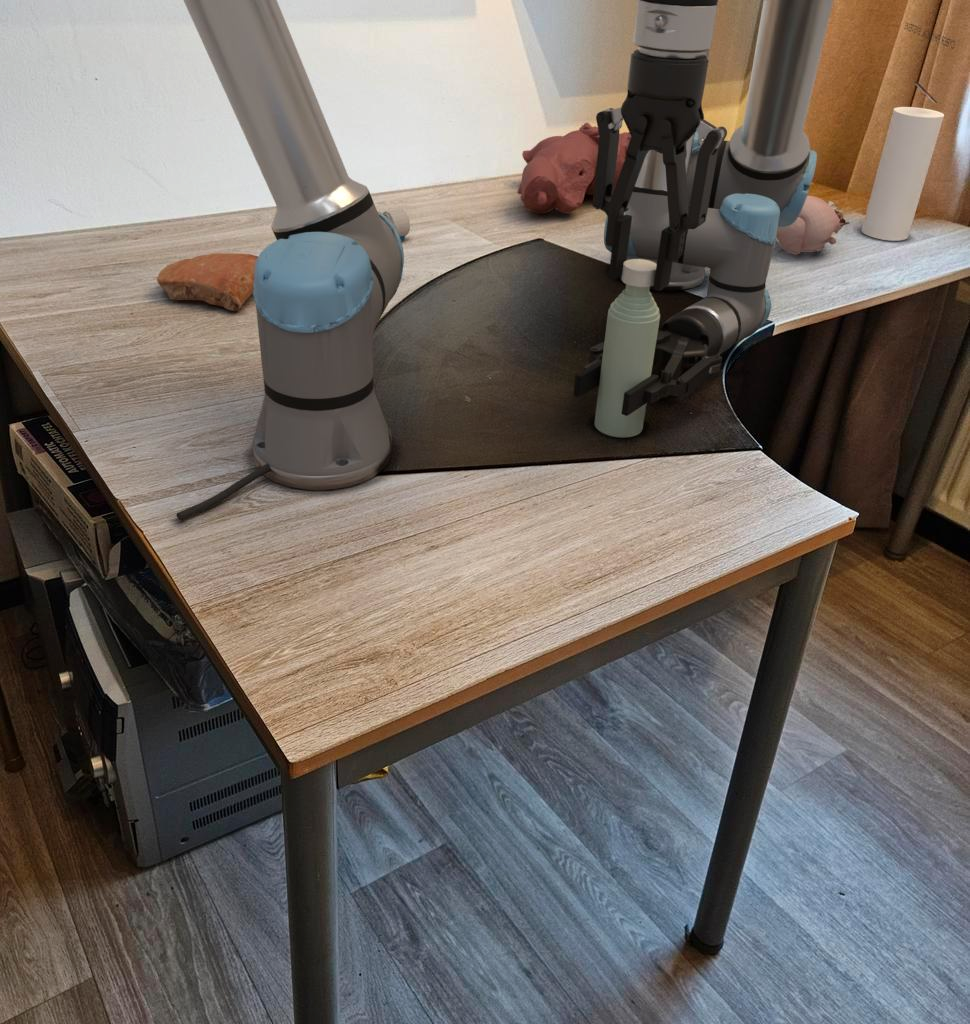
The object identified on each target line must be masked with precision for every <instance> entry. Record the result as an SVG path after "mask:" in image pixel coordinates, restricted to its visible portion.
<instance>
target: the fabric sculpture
mask: <svg viewBox="0 0 970 1024" xmlns="http://www.w3.org/2000/svg"><path fill="white" fill-rule="evenodd" d="M630 139H631V134H630V132H629V131H628V132H627V131H624V132H621V133H619V145H618V153H617V162H616V171H615V179H614V188H613V192H614V190H615V187H616V184H617V181H618V178H619V175H620V172H621V170H622V167H623V164H624V161H625V158H626V150H627V148H628V145H629V142H630ZM598 146H599V131H598V126H592V125H591V124H590V123H589V122H585V123H584V124H581V126H580V127H579V129H576V130H573V131H570V132H568V133H566V134H565V135H554V136H549V137H546V138H544V139H542V140H540V141H539V142H538V143H536V145H535V146H534V147H532V148H531V149H529V150H523V151H522V153H521V156H522V158H523V160H524V162H525V163H526V164H525V166H524V168H523V170H522V172H521V173H522V174H521V180H520V181H521V182H520V185H519V186H518V189H517V194H518V195H520V200H521V202H522V203H523V207H524V209H525V210H529V211H530V212H532V213H535V214H546V213H549V212H551V211H552V210H553V209H554V208H555V209H556V210H557V211H559V212H560V213H564V214H569V213H573V212H575V211H578V209H579V208H581V206H582V203H584V199H585V195H591V196H593V194H594V184H595V174H596V165H597V155H598Z"/></svg>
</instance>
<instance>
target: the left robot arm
mask: <svg viewBox="0 0 970 1024" xmlns="http://www.w3.org/2000/svg"><path fill="white" fill-rule="evenodd" d="M183 3H184V5H185V7H186V9H187V12H188V15H190V18H191V20H192V22H193V24H194V27H195V29H196V32H197V33H198V36H199V38H200V40H201V42H202V44H203V47H204V49H205V51H206V54H207V55H208V58H209V60H210V63H211V64H212V66H213V68H214V71H215V73H216V75H217V77H218V80H219V82H220V84H221V86H222V88H223V91H224V93H225V95H226V97H227V99H228V101H229V104H230V107H231V108H232V111H233V113H234V115H235V118H236V119H237V122H238V124H239V126H240V128H241V131H242V133H243V135H244V137H245V140H246V141H247V142H246V143H247V144H248V146H249V148H250V150H251V153H252V156H253V157H254V160H255V161H256V164H257V166H258V168H259V170H260V172H261V174H262V177H263V179H264V181H265V183H266V186H267V188H268V190H269V192H270V195H271V197H272V199H273V201H274V203H275V207H276V208H275V209H276V210H275V214H274V217H273V220H272V222H271V225H270V228H271V231H272V232H273V235H274V238H275V241H273V242H272V243H270V244H268V245H267V246H266V247H265V248H264V249H263V250H262V251H260V253H259V255H258V258H257V260H256V263H255V269H254V284H253V287H254V291H253V293H252V295H253V300H254V303H255V310H256V311H255V312H256V320H257V330H258V340H259V349H260V359H261V369H262V379H263V388H264V390H263V391H264V396H263V400H262V404H261V408H260V412H259V415H258V419H257V423H256V427H255V430H254V434H253V439H252V455H253V460H254V464H255V467H256V469H255V470H254V471H251V472H250V473H248V474H247V475H245V476H244V477H242V478H240V479H239V480H237V481H236V482H234V483H232V484H231V485H230V486H228V487H226V488H225V489H224V490H222V491H220V492H219V493H217V494H215V495H213V496H211V497H210V498H207V499H206V500H203V501H202V502H200V503H197V504H195V505H193V506H190V507H187V508H186V509H182V510H181V511H178V512H177V513H176V515H175V516H176V518H177V520H178V521H184V520H185V519H187V518H190V517H192V516H194V515H197V514H199V513H201V512H204V511H205V510H208V509H210V508H212V507H214V506H216V505H218V504H220V503H221V502H223V501H225V500H227V499H228V498H230V497H231V496H233V495H234V494H236V493H237V492H238V491H240V490H243V488H245V487H246V486H248V485H250V484H251V483H253V482H255V481H256V480H258V479H260V478H261V477H263V476H265V477H266V478H268V479H269V480H271V481H273V482H275V483H278V484H280V485H283V486H286V487H290V488H295V489H301V490H312V491H314V490H315V491H323V490H327V491H328V490H337V489H342V488H348V487H351V486H355V485H358V484H361V483H363V482H366V481H368V480H370V479H373V478H374V477H375V476H377V475H378V474H380V473H381V472H382V471H383V470H384V469H385V468H386V467H387V466H388V464H389V463H390V461H391V458H392V441H393V439H392V432H391V431H390V426H389V427H388V424H387V422H386V419H385V417H384V413H383V411H382V408H381V406H380V403H379V400H378V398H377V395H376V393H375V385H374V331H375V329H376V327H377V325H378V323H379V321H380V319H381V318H382V316H383V314H384V312H385V311H386V309H387V307H388V306H389V303H390V302H391V301H392V300H393V298H394V297H395V295H396V293H397V292H398V289H399V287H400V284H401V282H402V276H403V273H404V272H403V271H404V264H405V254H404V246H403V242H402V240H401V239H400V237H399V234H398V232H397V230H396V229H395V227H394V226H393V224H392V223H391V222H390V221H389V220H388V219H387V217H385V216H384V215H383V214H382V212H379V211H378V209H377V207H376V205H375V202H374V200H373V197H372V194H371V193H370V189H369V188H368V186H367V185H364V184H362V183H360V182H358V181H356V180H354V179H352V178H351V177H350V176H349V174H348V172H347V169H346V167H345V165H344V162H343V160H342V157H341V154H340V152H339V150H338V147H337V144H336V142H335V139H334V137H333V135H332V133H331V130H330V128H329V125H328V123H327V120H326V117H325V116H324V113H323V110H322V108H321V105H320V102H319V100H318V98H317V96H316V94H315V93H316V92H315V90H314V88H313V86H312V83H311V80H310V78H309V76H308V73H307V71H306V68H305V66H304V64H303V62H302V61H303V60H302V59H301V57H300V53H299V51H298V49H297V46H296V44H295V42H294V39H293V36H292V34H291V32H290V29H289V27H288V25H287V22H286V20H285V17H284V14H283V12H282V10H281V7H280V5H279V2H278V0H183ZM717 3H718V4H719V0H637V5H636V13H635V14H636V16H635V20H634V21H635V22H634V31H633V38H632V42H633V43H634V45H635V46H636V47H637V49H635V50H634V51H633V53H631V54H630V61H629V62H630V63H629V71H628V80H627V94H626V97H625V99H624V101H623V102H622V104H621V107H617V108H613V107H610V108H607V109H604V110H601V111H599V112H598V113H596V116H595V118H596V119H595V121H596V125H597V126H596V127H598V131H599V146H598V155H597V165H596V174H595V184H594V194H593V195H592V206H593V208H594V209H595V210H601V211H602V212H604V213H605V215H606V217H607V216H608V222H607V232H606V240H605V241H606V246H610V247H612V252H610V262H609V268H608V269H609V270H608V277H607V278H608V280H611V281H616V280H617V279H619V278H618V277H620V276H621V275H622V271H623V263H624V262H625V261H626V259H627V251H628V244H629V236H630V228H631V221H632V216H631V215H624V212H626V211H627V210H628V209H629V208H627V206H628V203H629V201H630V198H631V195H632V192H633V190H634V187H635V184H636V181H637V179H638V176H639V173H640V170H641V168H642V165H643V162H644V159H645V157H646V155H647V153H648V152H649V150H655V151H657V152H659V153H662V155H663V163H664V165H665V169H666V183H667V197H668V211H669V226H668V227H667V228H665V229H664V230H662V233H661V239H660V246H659V253H658V260H657V266H656V273H655V280H654V287H653V289H652V290H653V291H656V292H662V291H663V290H662V289H663V288H665V287H666V286H667V285H669V281H670V275H671V268H672V262H673V261H676V260H677V259H679V258H680V257H681V255H682V252H683V246H684V240H685V234H686V230H687V229H695V228H697V227H698V226H700V225H701V224H703V223H704V222H705V221H706V217H707V211H708V205H709V200H710V194H711V188H712V183H713V177H714V171H715V166H716V160H717V154H718V150H719V149H720V147H721V145H722V143H723V141H725V139H726V137H727V135H728V130H727V128H726V127H725V126H715V125H714V124H712V123H711V122H709V121H708V120H706V119H705V114H704V111H703V106H702V103H703V102H702V101H703V97H704V91H705V86H706V79H707V73H708V67H709V58H708V59H707V57H706V56H705V55H704V51H708V50H709V49H710V50H711V48H712V42H713V37H714V36H713V35H714V28H715V23H716V16H717V11H718V6H717ZM716 10H717V11H716ZM623 121H624V123H625V126H626V128H627V130H628V133H629V132H630V134H631V139H630V142H629V145H628V148H627V150H626V158H625V161H624V164H623V167H622V170H621V172H620V175H619V178H618V181H617V184H616V187H615V190H614V192H613V188H614V179H615V171H616V162H617V153H618V145H619V134H620V130H621V129H622V127H623ZM696 131H697V132H698V134H699V139H698V143H699V145H700V146H701V148H700V151H699V154H698V158H697V163H696V169H695V175H694V182H693V188H692V194H691V200H690V206H689V212H688V196H687V180H686V164H685V160H686V156H687V149H686V142H687V141H688V140H689V139H690V138H691V136H692V135H693V134H694V133H695V132H696Z"/></svg>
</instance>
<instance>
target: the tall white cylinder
mask: <svg viewBox="0 0 970 1024" xmlns="http://www.w3.org/2000/svg"><path fill="white" fill-rule="evenodd" d="M904 30H905V31H907V32H910V33H912V32H913V34H915V33H916V34H917V35H918V36H921V37H923V38H924V37H925V39H928V40H930V41H931V40H932V41H933V42H937V40H938V44H939V43H940V44H942V45H943V46H946V47H947V48H948V47H949V49H950V48H951V49H952V50H953V49H954V48H955V45H956V40H954V39H951V38H948V37H946V36H942V37H941V34H938V35H937V33H934V32H933V31H931V30H926V29H923V34H921V31H922V27H920V26H918V25H915V24H912V23H909V22H908V21H907V22H905V26H904ZM927 33H928V35H927ZM940 37H941V38H940ZM940 39H941V42H940ZM945 39H946V40H945ZM944 42H945V43H944ZM952 43H954V44H953V46H952ZM913 84H914V85H915V86H916V87H917V88H919V90H920V91H921V92H922V95H923V96H924V97H926V98H928V99H929V100H930V101H931V102H932V103H934V104H937V103H938V101H937V100H936V99H935V98H934V97H932V95H931V94H930V93H929V92H928V91H927V90H926V89H925V88H924V87H923V86H922V85H921V84H920V83H919V82H918V81H915V80H914V82H913ZM944 117H945V114H944V113H943V112H940V111H937V110H936V109H935V110H934V109H929V108H924V107H915V106H914V107H913V106H897V107H894V108H893V110H892V114H891V118H890V122H889V126H888V129H887V133H886V137H885V140H884V145H883V148H882V151H881V155H880V159H879V163H878V166H877V170H876V174H875V177H874V182H873V185H872V189H871V193H870V196H869V201H868V203H867V208H866V212H865V215H864V220H863V222H862V227H861V232H862V233H863V234H864V235H866V236H868V237H871V238H873V239H878V240H884V241H893V242H895V241H897V242H898V241H899V242H900V241H905V240H907V239H909V236H910V233H911V229H912V226H913V222H914V219H915V215H916V211H917V210H918V209H917V208H918V206H919V202H920V198H921V195H922V191H923V188H924V184H925V182H926V178H927V175H928V171H929V169H930V165H931V161H932V158H933V155H934V151H935V148H936V145H937V142H938V141H937V140H938V138H939V134H940V130H941V127H942V124H943V121H944Z"/></svg>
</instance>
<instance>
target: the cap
mask: <svg viewBox="0 0 970 1024" xmlns="http://www.w3.org/2000/svg"><path fill="white" fill-rule="evenodd" d="M656 266H657V264H656V263H654V262H652V261H649V260H644V259H630V260H627V261H625V262H624V263H623V271H622V280H621V281H622V283H623V284H625V285H626V284H627V285H630V286H634V287H650V286H653V285H654V280H655V273H656Z"/></svg>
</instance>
